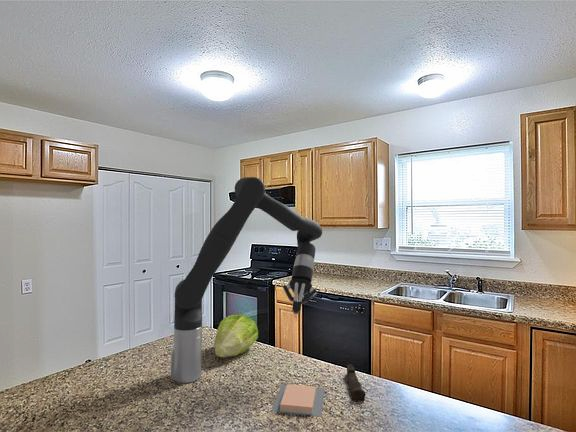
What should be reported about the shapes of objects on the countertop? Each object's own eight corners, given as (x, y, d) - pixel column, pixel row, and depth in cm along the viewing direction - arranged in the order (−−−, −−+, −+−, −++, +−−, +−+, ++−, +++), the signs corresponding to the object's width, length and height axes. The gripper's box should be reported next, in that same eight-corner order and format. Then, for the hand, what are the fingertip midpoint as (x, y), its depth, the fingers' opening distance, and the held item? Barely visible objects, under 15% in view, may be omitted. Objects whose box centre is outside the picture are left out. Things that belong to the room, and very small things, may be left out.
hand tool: (365, 404, 99) (365, 388, 99) (351, 403, 99) (351, 387, 100) (356, 375, 118) (357, 362, 118) (345, 375, 118) (345, 361, 118)
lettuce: (196, 364, 128) (200, 328, 126) (225, 336, 151) (229, 305, 149) (237, 376, 124) (241, 340, 122) (261, 345, 147) (264, 314, 145)
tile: (287, 390, 105) (280, 411, 93) (287, 384, 105) (280, 404, 93) (316, 393, 104) (312, 414, 92) (316, 386, 104) (312, 407, 92)
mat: (271, 413, 93) (271, 411, 93) (281, 386, 109) (281, 384, 109) (321, 418, 91) (321, 416, 91) (324, 390, 107) (324, 388, 107)
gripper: (285, 262, 126) (276, 306, 116) (320, 266, 123) (314, 312, 114) (287, 271, 132) (278, 314, 122) (320, 275, 129) (314, 319, 120)
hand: (295, 313), depth 118 cm, fingers closed
